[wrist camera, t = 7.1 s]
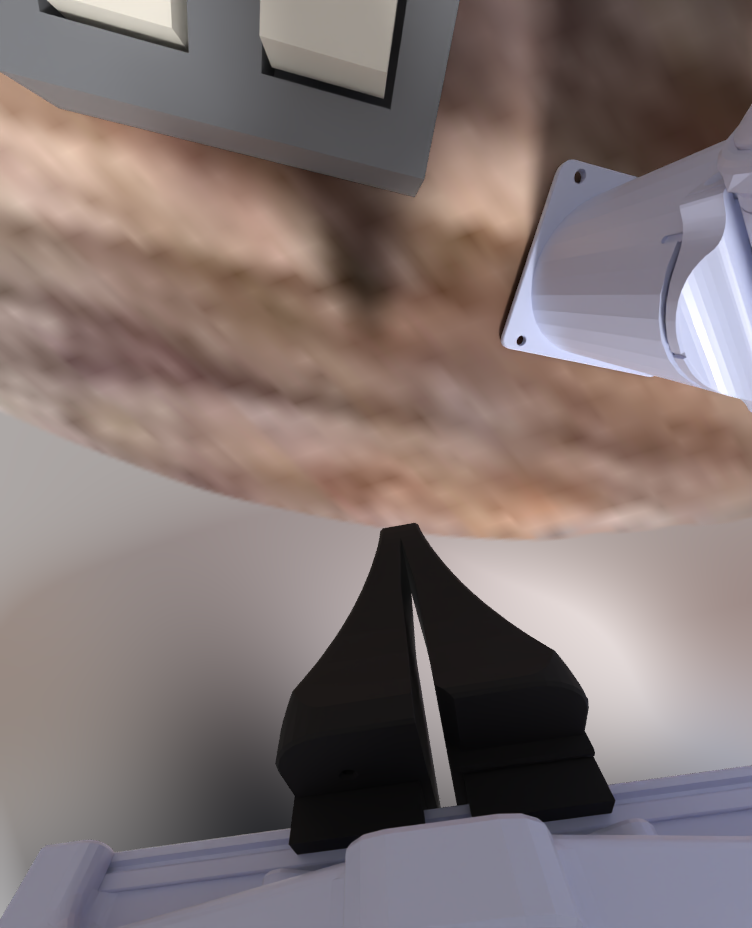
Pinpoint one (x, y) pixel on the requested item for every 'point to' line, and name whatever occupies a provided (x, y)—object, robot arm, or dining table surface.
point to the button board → (242, 87)
